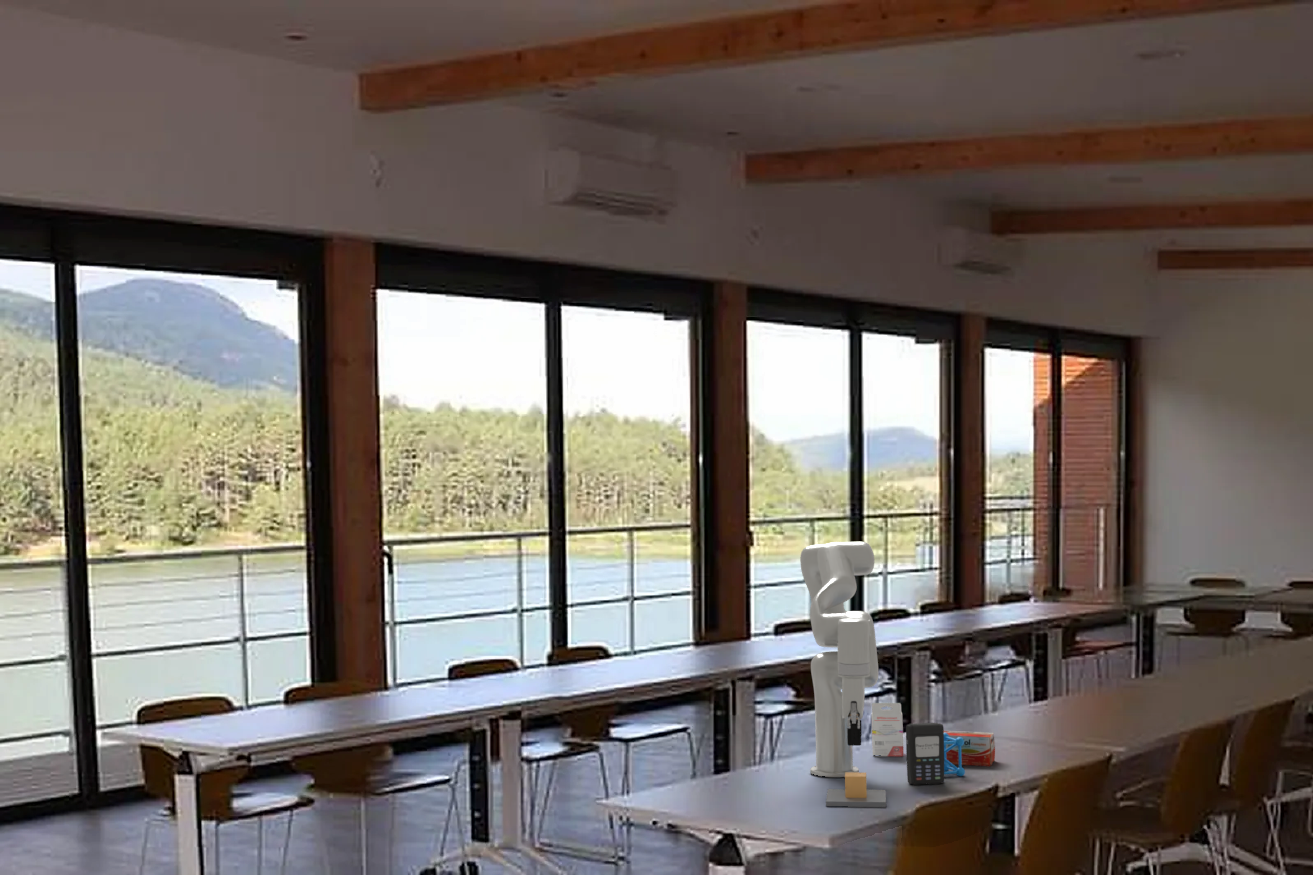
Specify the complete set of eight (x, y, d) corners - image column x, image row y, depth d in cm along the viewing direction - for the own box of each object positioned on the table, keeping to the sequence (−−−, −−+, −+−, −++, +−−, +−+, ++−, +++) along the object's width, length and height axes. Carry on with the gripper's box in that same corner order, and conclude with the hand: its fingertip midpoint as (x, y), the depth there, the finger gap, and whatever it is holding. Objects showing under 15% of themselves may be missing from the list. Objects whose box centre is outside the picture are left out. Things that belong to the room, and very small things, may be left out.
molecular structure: (966, 776, 393) (965, 737, 393) (932, 780, 390) (931, 740, 390) (946, 769, 403) (946, 731, 403) (913, 773, 399) (912, 734, 400)
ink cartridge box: (903, 753, 426) (902, 700, 427) (903, 757, 422) (902, 703, 422) (872, 753, 428) (871, 700, 428) (872, 756, 423) (871, 703, 423)
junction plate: (827, 794, 374) (827, 774, 374) (885, 794, 372) (885, 775, 373) (826, 806, 361) (825, 786, 361) (886, 807, 359) (885, 787, 359)
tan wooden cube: (845, 793, 369) (845, 772, 370) (866, 793, 369) (866, 772, 369) (845, 797, 364) (845, 776, 365) (866, 797, 364) (866, 776, 364)
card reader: (910, 786, 382) (909, 725, 383) (905, 783, 386) (904, 723, 387) (945, 784, 384) (944, 724, 384) (940, 781, 388) (939, 721, 388)
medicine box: (995, 761, 413) (994, 731, 414) (992, 767, 406) (991, 737, 406) (939, 759, 418) (938, 729, 418) (934, 764, 411) (933, 734, 411)
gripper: (838, 663, 376) (839, 733, 377) (837, 675, 359) (838, 748, 360) (869, 664, 375) (870, 733, 376) (869, 676, 358) (870, 749, 359)
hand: (854, 740), depth 368 cm, fingers open, 9 cm apart
